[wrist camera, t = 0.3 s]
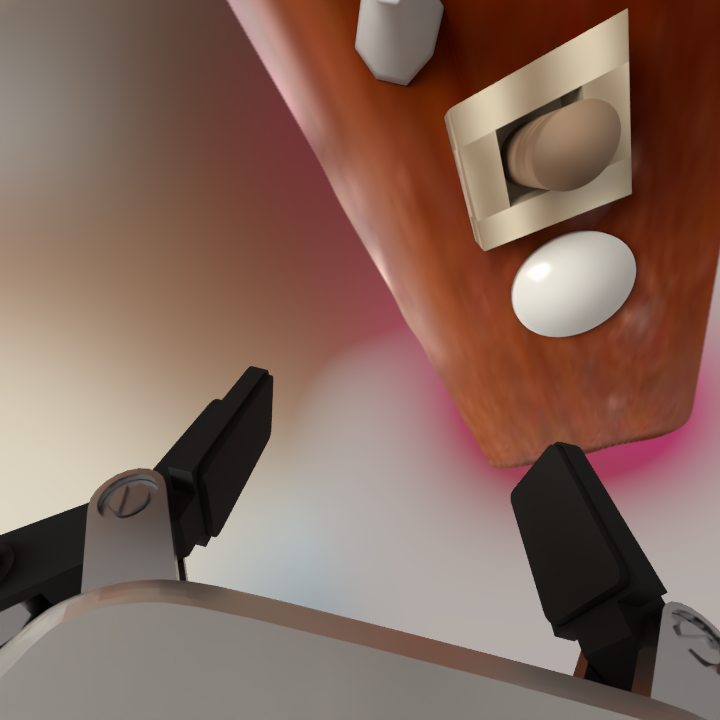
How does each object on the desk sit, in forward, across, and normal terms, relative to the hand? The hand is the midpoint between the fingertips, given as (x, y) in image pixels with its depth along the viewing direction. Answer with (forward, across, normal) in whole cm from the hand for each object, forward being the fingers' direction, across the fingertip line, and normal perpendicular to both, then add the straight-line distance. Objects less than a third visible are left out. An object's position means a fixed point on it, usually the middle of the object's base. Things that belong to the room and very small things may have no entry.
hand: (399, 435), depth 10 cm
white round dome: (+30, -19, 0) cm, 35 cm away
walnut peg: (+29, -8, -11) cm, 32 cm away
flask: (+30, +6, -17) cm, 35 cm away
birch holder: (+30, -8, -11) cm, 33 cm away
